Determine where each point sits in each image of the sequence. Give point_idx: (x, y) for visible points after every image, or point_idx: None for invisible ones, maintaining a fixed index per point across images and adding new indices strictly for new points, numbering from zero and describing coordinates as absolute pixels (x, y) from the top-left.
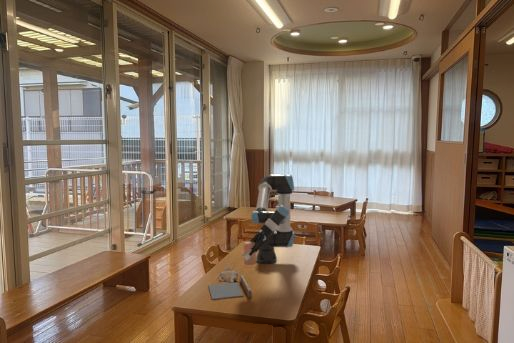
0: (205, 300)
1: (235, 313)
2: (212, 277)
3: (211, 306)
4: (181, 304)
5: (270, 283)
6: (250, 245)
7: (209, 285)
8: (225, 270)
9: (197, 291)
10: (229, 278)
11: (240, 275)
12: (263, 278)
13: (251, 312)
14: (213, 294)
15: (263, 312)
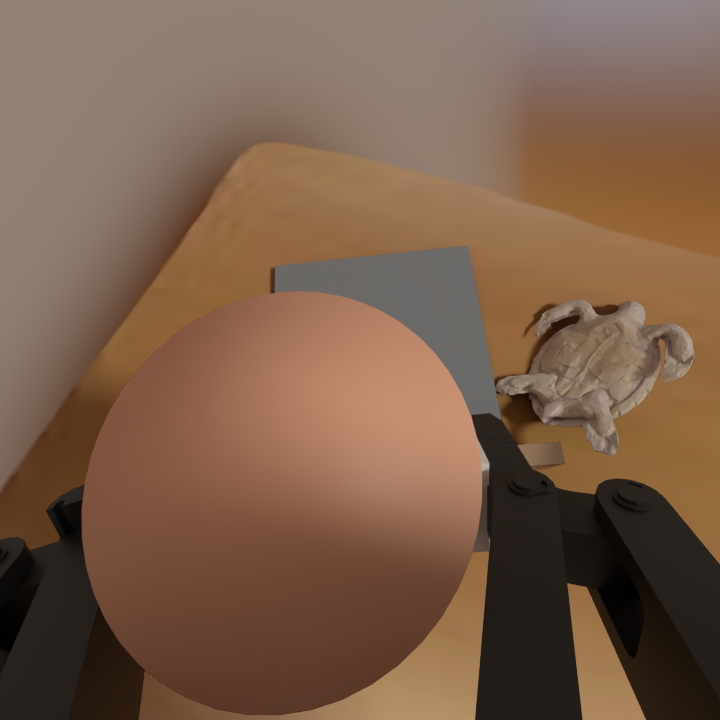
0: (280, 240)
1: (85, 374)
2: (617, 268)
3: (204, 267)
4: (268, 151)
5: (468, 711)
6: (97, 476)
7: (464, 251)
8: (648, 327)
9: (402, 201)
10: (554, 366)
11: (549, 442)
12: (594, 667)
13: (58, 460)
14: (330, 272)
15: (26, 532)
